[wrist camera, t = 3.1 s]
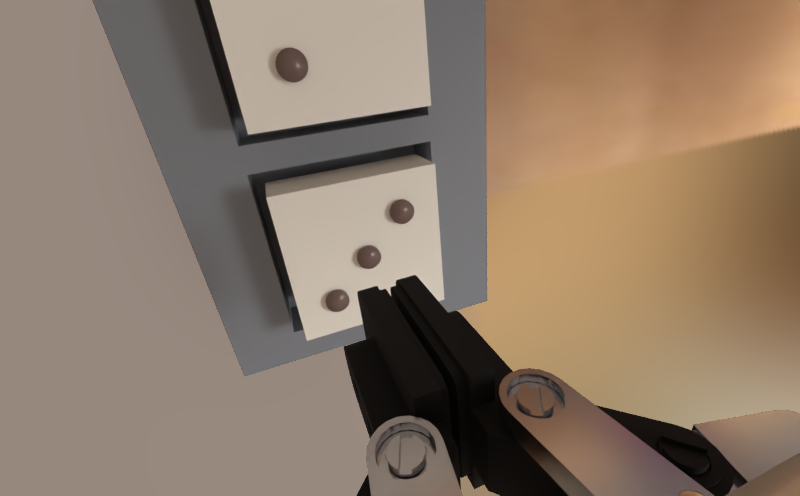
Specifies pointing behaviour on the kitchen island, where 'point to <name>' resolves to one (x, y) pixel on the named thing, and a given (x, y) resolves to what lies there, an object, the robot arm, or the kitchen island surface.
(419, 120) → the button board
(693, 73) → the kitchen island surface
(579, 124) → the kitchen island surface
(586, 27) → the kitchen island surface
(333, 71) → the tile
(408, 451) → the robot arm
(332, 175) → the tile
